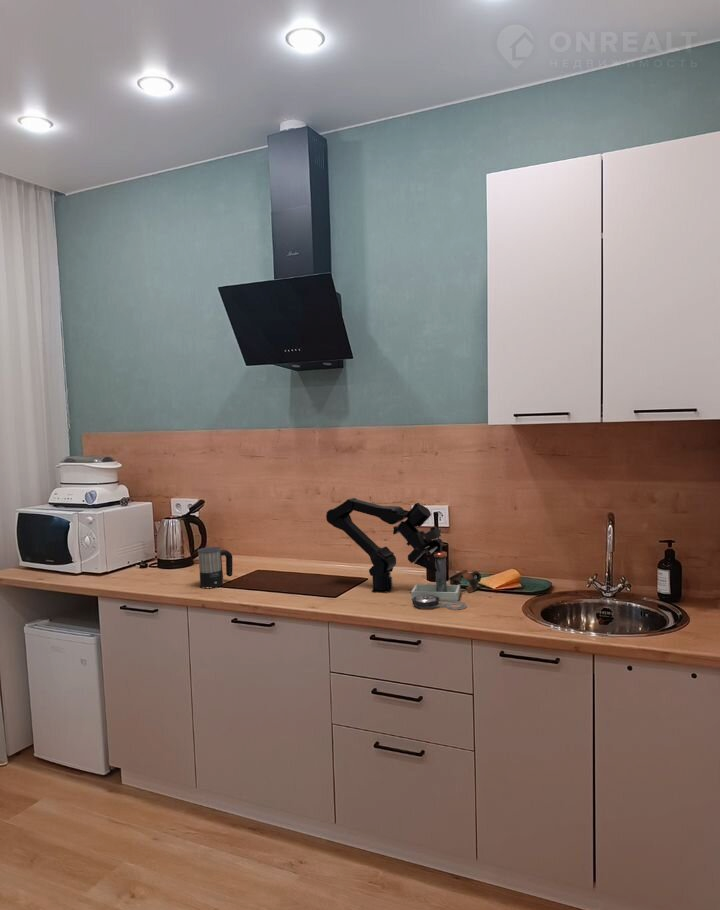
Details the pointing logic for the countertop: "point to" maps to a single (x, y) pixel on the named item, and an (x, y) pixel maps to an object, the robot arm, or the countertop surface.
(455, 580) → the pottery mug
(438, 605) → the tensioner
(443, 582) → the pin
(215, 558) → the milk frother
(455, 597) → the tray
